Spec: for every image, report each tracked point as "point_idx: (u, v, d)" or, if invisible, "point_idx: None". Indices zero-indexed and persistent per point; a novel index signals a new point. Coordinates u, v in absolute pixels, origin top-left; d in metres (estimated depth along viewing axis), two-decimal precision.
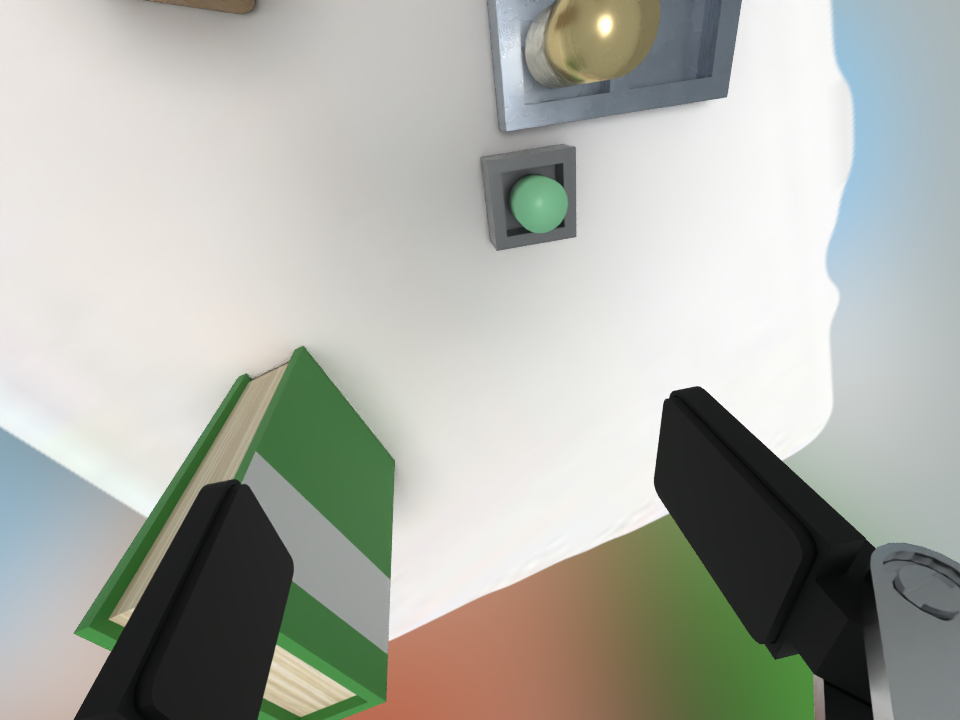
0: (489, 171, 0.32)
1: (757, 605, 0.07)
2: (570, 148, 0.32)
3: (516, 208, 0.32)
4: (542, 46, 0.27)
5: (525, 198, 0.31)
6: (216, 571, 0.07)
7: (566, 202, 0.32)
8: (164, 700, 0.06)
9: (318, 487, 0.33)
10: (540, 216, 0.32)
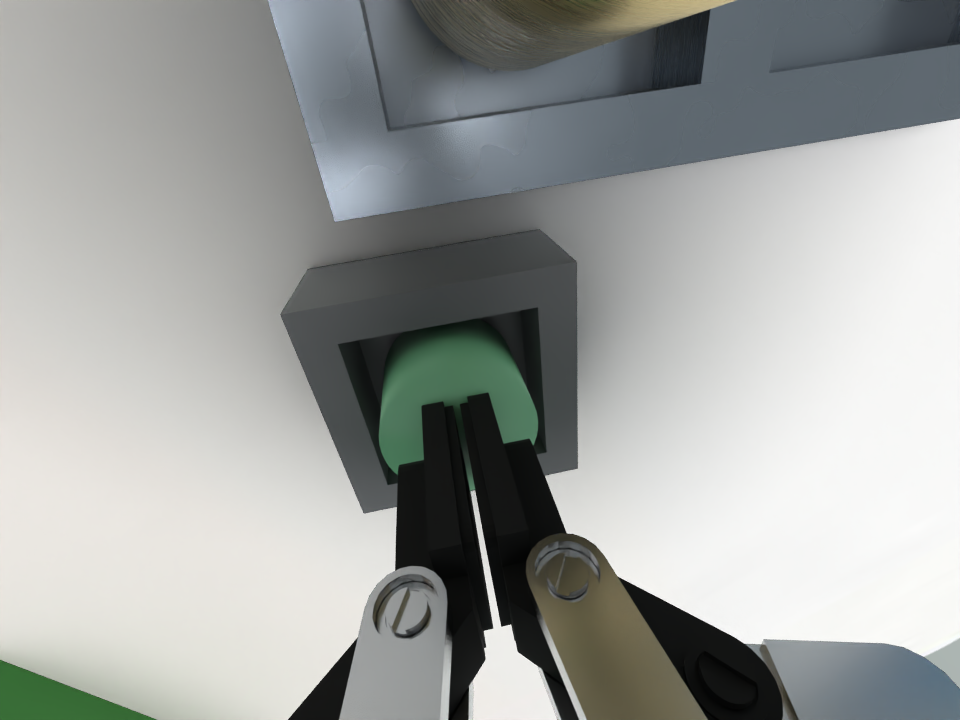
0: (296, 342, 0.10)
1: None
2: (560, 267, 0.10)
3: None
4: None
5: (403, 422, 0.10)
6: (463, 466, 0.08)
7: (534, 421, 0.11)
8: None
9: None
10: None
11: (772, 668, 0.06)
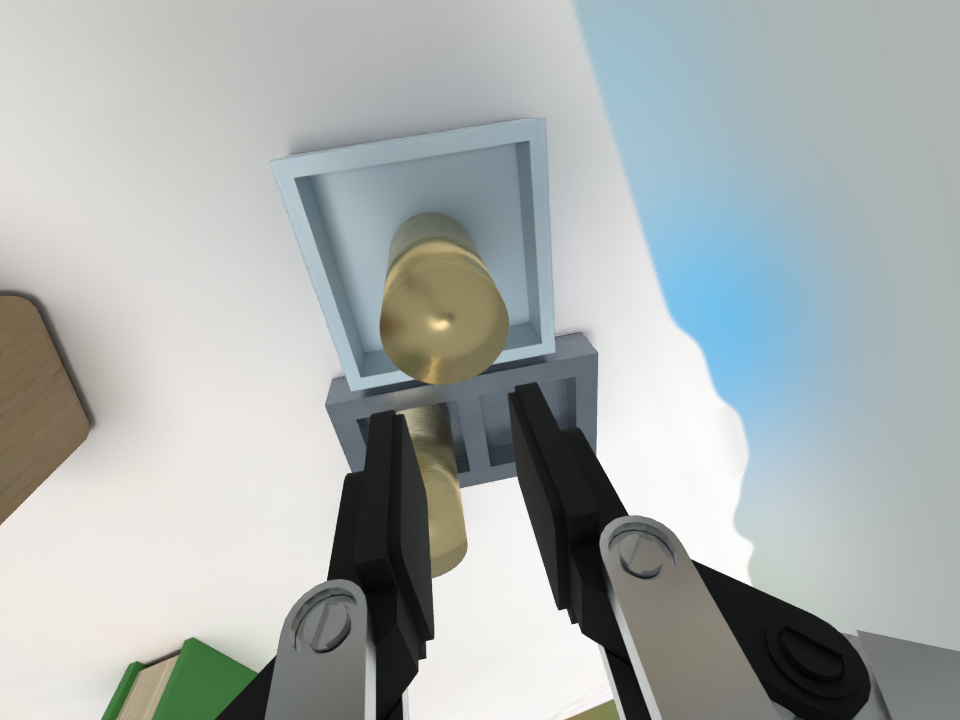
0: None
1: (553, 575, 0.08)
2: None
3: None
4: None
5: None
6: (405, 476, 0.08)
7: None
8: (404, 559, 0.07)
9: None
10: None
11: (861, 657, 0.05)
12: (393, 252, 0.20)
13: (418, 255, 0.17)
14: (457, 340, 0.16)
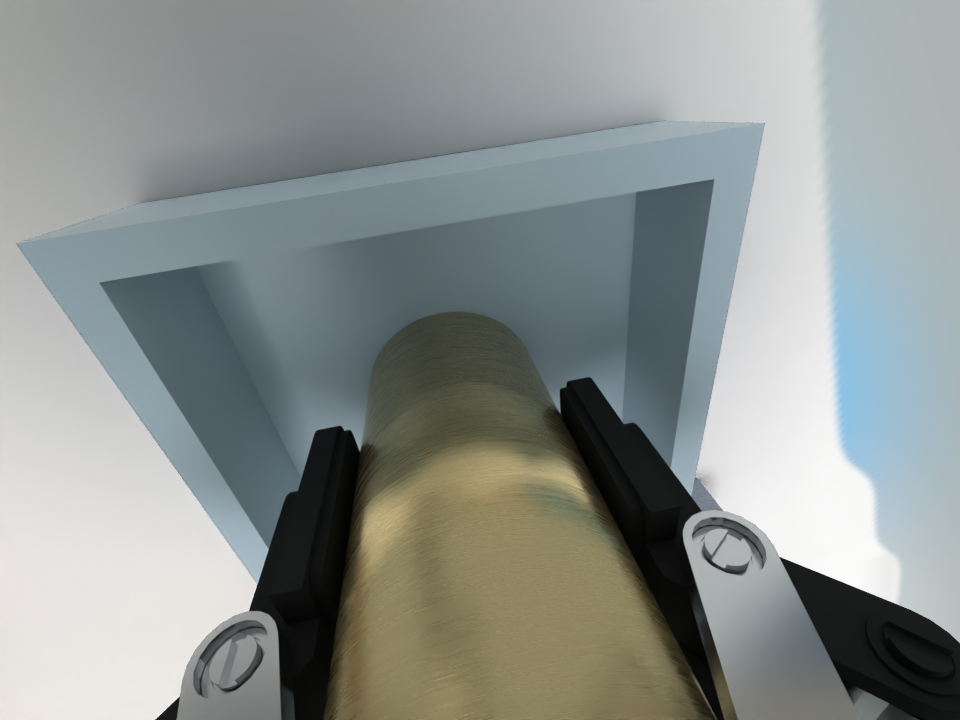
0: None
1: None
2: None
3: None
4: None
5: None
6: (343, 497, 0.08)
7: None
8: (328, 588, 0.07)
9: None
10: None
11: None
12: (370, 451, 0.08)
13: (443, 607, 0.05)
14: None
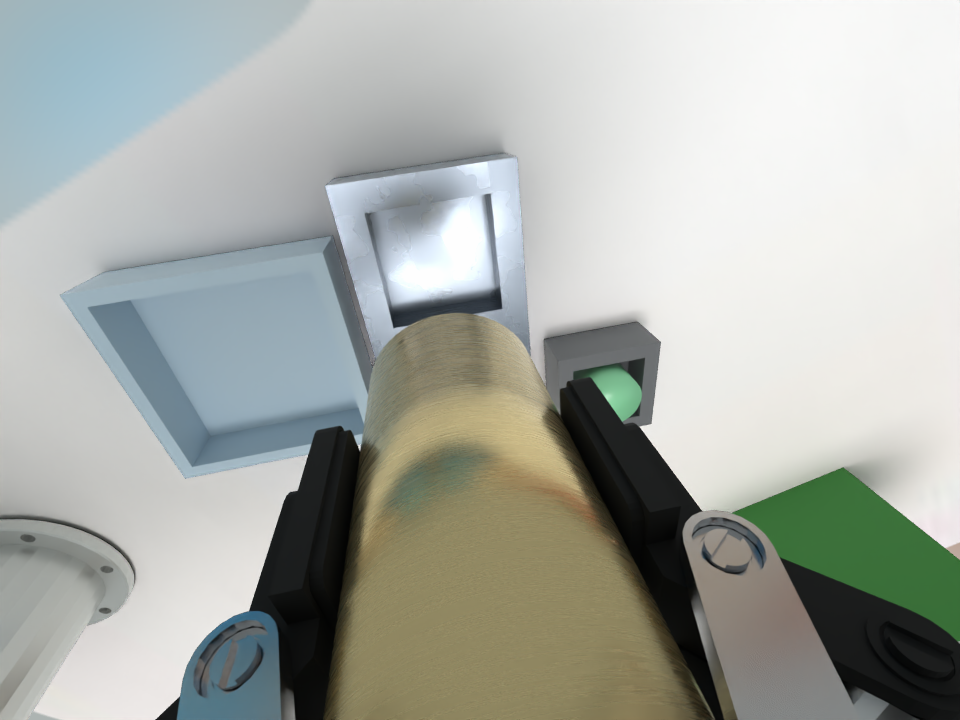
0: None
1: None
2: (559, 366, 0.27)
3: None
4: None
5: None
6: (343, 497, 0.08)
7: (614, 379, 0.27)
8: (328, 588, 0.07)
9: None
10: (623, 402, 0.28)
11: None
12: (370, 453, 0.08)
13: (443, 612, 0.05)
14: None
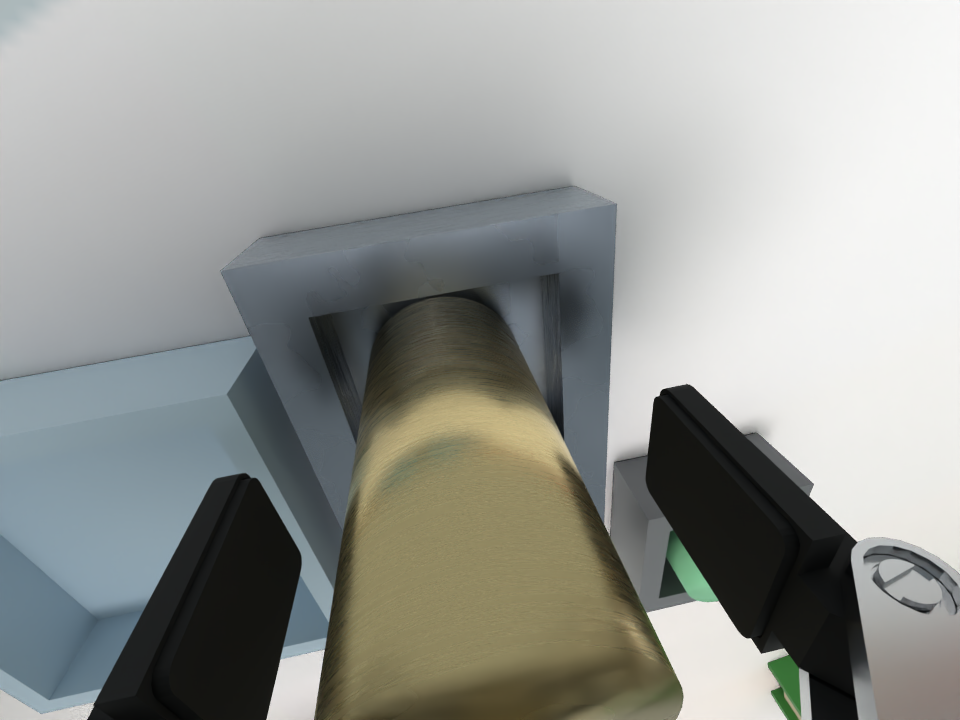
0: (652, 609, 0.20)
1: (743, 600, 0.07)
2: (649, 526, 0.17)
3: None
4: None
5: (708, 595, 0.18)
6: (228, 562, 0.07)
7: None
8: (180, 686, 0.06)
9: None
10: None
11: None
12: (369, 412, 0.10)
13: (426, 513, 0.06)
14: None
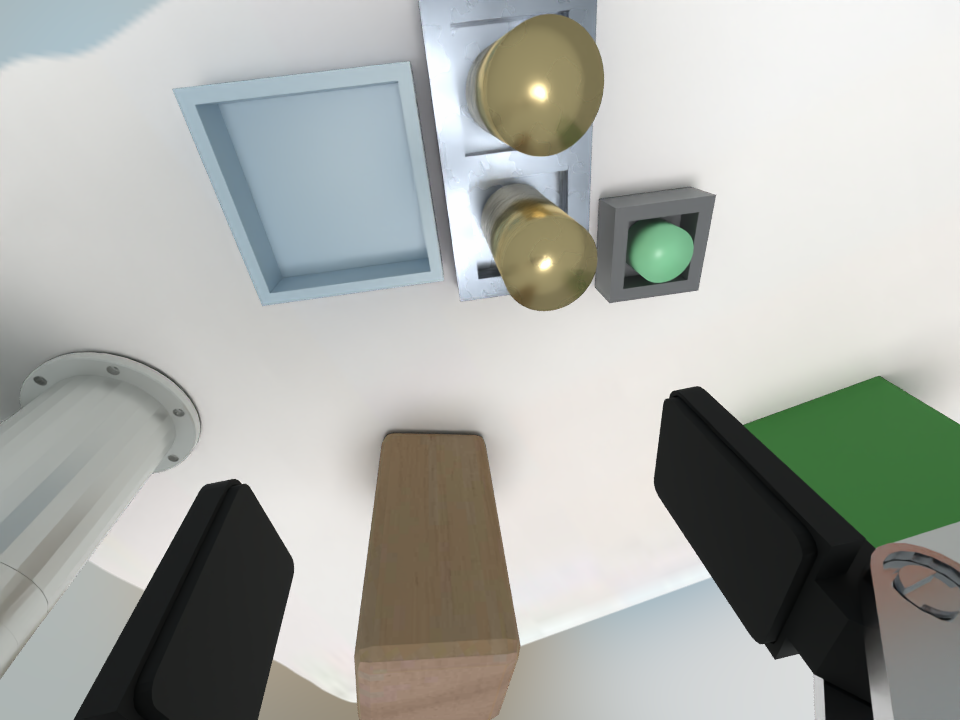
0: (619, 300, 0.32)
1: (757, 605, 0.07)
2: (616, 214, 0.28)
3: None
4: None
5: (652, 274, 0.30)
6: (216, 571, 0.07)
7: (669, 228, 0.28)
8: (164, 700, 0.06)
9: (884, 516, 0.34)
10: (674, 256, 0.30)
11: None
12: (483, 54, 0.21)
13: None
14: (554, 104, 0.18)
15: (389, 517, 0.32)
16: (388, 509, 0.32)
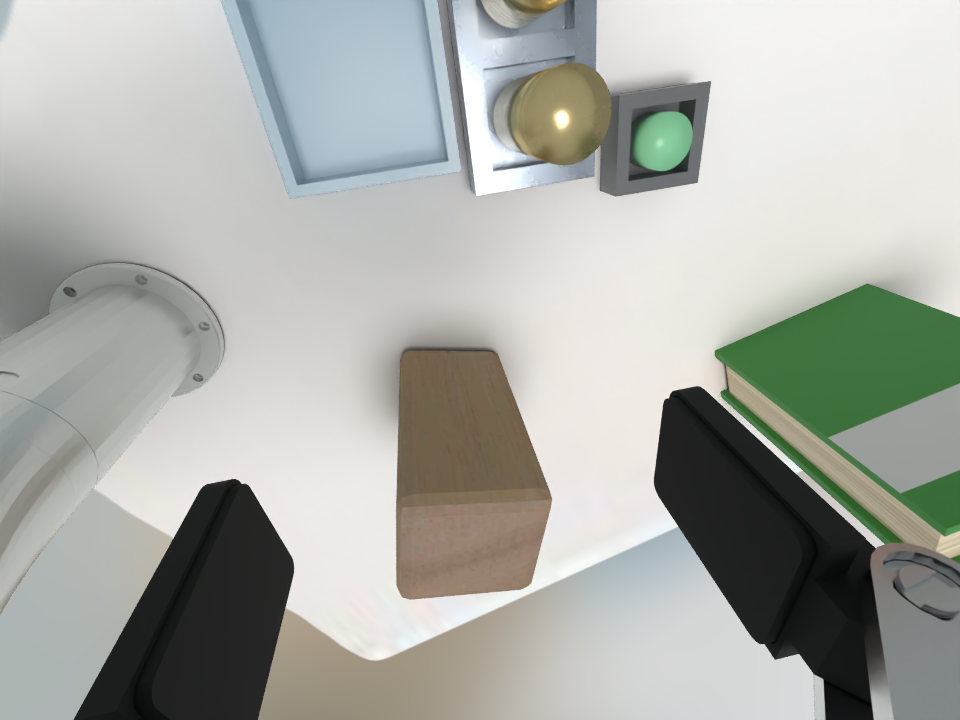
0: (624, 193, 0.34)
1: (757, 605, 0.07)
2: (620, 101, 0.31)
3: (661, 170, 0.33)
4: None
5: (655, 162, 0.32)
6: (216, 571, 0.07)
7: (669, 113, 0.31)
8: (164, 700, 0.06)
9: (881, 392, 0.36)
10: (675, 143, 0.32)
11: None
12: None
13: None
14: None
15: (416, 407, 0.33)
16: (415, 401, 0.34)
